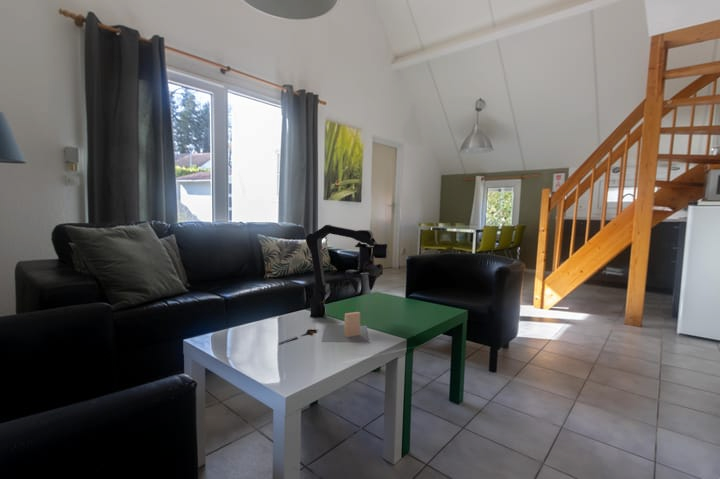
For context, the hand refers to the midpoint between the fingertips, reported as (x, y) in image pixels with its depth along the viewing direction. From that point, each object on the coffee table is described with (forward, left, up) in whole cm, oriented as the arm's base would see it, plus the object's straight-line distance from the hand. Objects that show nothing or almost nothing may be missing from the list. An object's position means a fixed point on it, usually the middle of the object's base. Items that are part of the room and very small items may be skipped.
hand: (363, 290), depth 162 cm
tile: (-5, -23, -13) cm, 27 cm away
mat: (-8, -21, -14) cm, 26 cm away
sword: (-27, -27, -14) cm, 41 cm away
